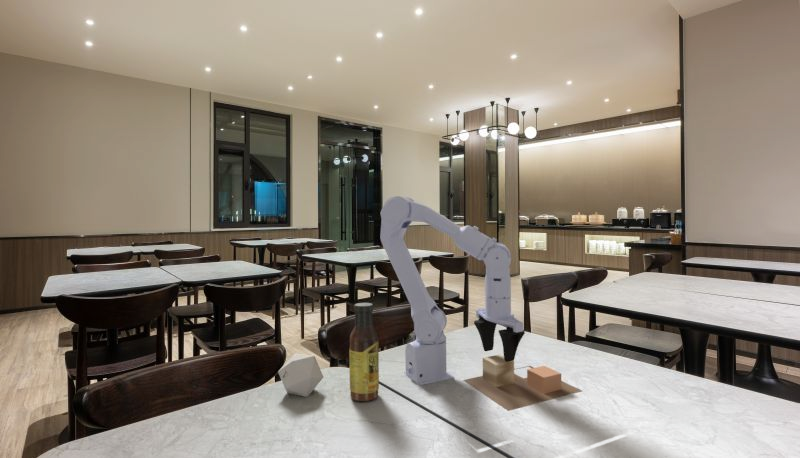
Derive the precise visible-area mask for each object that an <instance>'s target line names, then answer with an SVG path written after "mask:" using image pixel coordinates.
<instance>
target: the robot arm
mask: <svg viewBox="0 0 800 458" xmlns="http://www.w3.org/2000/svg"><path fill="white" fill-rule="evenodd" d="M380 217H381V223H380V233H379V235H380V238H379V239H380V242H381V244H382V247H383V248H384V251H385V252H386V255H387V257H388V259H389V261H390V264H391V265H392V268H393V270H394V272H395V274H396V277H397V279H398V281H399V283H400V285H401V287H402V289H403V292H404V294H405V296H406V299H407V301H408V303H409V304H410V315H411V319H412V321H413V331H414V334H415V340H413V341H411V342H408V343H407V344H406V346H405V352H404V353H405V371H404V374H405V375H406V376H407V377H408V378H409V379H410V380H411V381H413V382H414V383H415V384H417V386H422V385H423V386H424V385H427V384H431V383H432V384H433V383H437V382H442V381H446V380H447V381H448V380H451V379H455V378H454V377H455V376H454V375H453V374H451V373H449V372H448V371H447V336H446V335H445V333H444V331H443V330H445V328H446V327H447V323H448V322H447V321H448V319H447V315H446V314H445V312H444V311H443V310H442V309H440V308H439V307H438V305H437V303H436V301H435V300H434V299H433V298H432V297H431V296H430V293H429V291H428V290H427V287H426V285H425V283H424V281H423V279H422V276H421V274H420V272H419V271H418V268H417V266H416V263H415V262H414V260H413V257H412V255H411V253H410V251H409V249H408V247H407V244H406V242H405V239H404V236H405V234H406V232H407V229H408V227H409V226H410V224H412V223H413V222H414V223H415V222H420V223H425V224H426V225H429V226H431V227H433V228H434V229H436V230H437V231H439V232H442V233H443V234H445V235H447V236H449V238H450V237H451V238H452V239H453V241H454V244H455V245H454V246H456V248H458V249H460V250H461V251H463V252H465V253H466V254H469V255H470V256H471V257H473V258H475V259H477V260H478V261H483V264H484V266H485V277H484V299H485V300H484V302H485V303H484V308H479V309H475V315H476V316H475V318H477V319H478V320H474V322H473V323H474V326H475V328H476V329H477V331H478V334H479V337H480V340H481V344H482V348H483V351H484V352H488V351H493V349H494V345H495V344H494V343H495V332H496V328H497V325H498V326H502V327H504V328H505V329H504V328H503V329H499V330H498V334H499V336H500V339H501V343H502V347H503V348H502V351H503V356H504V359H505V361H506V362H509V361H514V362H515V358H516V354H517V350H518V347H519V344H520V342H521V340H522V339H523V337H524V335H525V334H526V333H525V330H524V322H523V321H521V320H519V319H517V318H515V314H514V313H512V298H511V297H512V288H511V287H512V283H511V282H512V281H511V280H512V278H511V275H510V274H511V268H510V264H511V263H512V258H511V251H510V249H509V248H508V247H507V246H506V245H505V244H504V243H502V242H497V241H498V239H497V238H495V237H492V238H491V237H490V236H488V235H486V234H485V233H483V232H481V231H479V229H480V227H477V226H476V225H474V226H471V225H468V224H467V225H463V226H460V225H458V224H457V223H455V222H453V221H452V220H450V219H448V217H446V216H444V215H442V214H441V213H439V212H437V211H436V210H435V209H433V208H431V207H429V206H428V205H426V204H424V203H422V202H419V201H415V200H414V199H412V198H411V197H403V196H400V195H393V196H390V197H389V198H388V199H387V200H386V201H385V202H384V205H383V206H382V208H381V210H380Z"/></svg>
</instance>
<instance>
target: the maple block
mask: <svg viewBox="0 0 800 458" xmlns="http://www.w3.org/2000/svg"><path fill="white" fill-rule="evenodd" d="M514 369H515V360H514V361H509V362H506V361H505V359H504V355H502V354H496V355H491V356H485V357H482V376H483V379H484V380H485V381H487V382H489V383H490V384H492V385H493V386H495V387H500V386H504V385H508V384H513V383H514Z"/></svg>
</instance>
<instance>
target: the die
mask: <svg viewBox="0 0 800 458" xmlns="http://www.w3.org/2000/svg"><path fill="white" fill-rule="evenodd" d="M277 374H278V375H279V377H280V380H281V383H282V384H283V387H284V389H285V391H286V393H287V394H291V395H295V396H300V397H303V398H308V397H309V396H310V394H311V393H312V392H313V390H315V389H316V387H317V386H318V385H319V384H320V382H321V381H322V380H323V379H324V375H323V372H322V369H321V367H320V365H319V363H318V361H317V358H316V356H315V355H310V354H303V353H296V352H295V353H294V354H292V356H291V357H290V358H289V359H288V360H287V361H285V363H284V364H283V365H282V367H281V368H280V369H279V370H278V371H277Z"/></svg>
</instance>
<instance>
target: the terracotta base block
mask: <svg viewBox="0 0 800 458" xmlns="http://www.w3.org/2000/svg"><path fill="white" fill-rule="evenodd" d="M561 381H562V373H561V372H559V371H556V370H555V369H552V368H551V367H547V366H546V365H541V366H537V367H534V368H532V369H527V385H528V386H530V387H532V388H534V389H536V390H538V391H539V392H541V393H543V394H545V393H549V392H553V391H557V390H561Z"/></svg>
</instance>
